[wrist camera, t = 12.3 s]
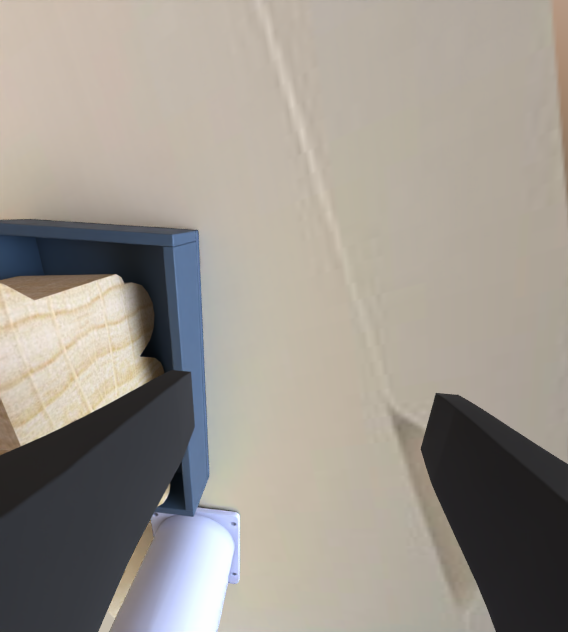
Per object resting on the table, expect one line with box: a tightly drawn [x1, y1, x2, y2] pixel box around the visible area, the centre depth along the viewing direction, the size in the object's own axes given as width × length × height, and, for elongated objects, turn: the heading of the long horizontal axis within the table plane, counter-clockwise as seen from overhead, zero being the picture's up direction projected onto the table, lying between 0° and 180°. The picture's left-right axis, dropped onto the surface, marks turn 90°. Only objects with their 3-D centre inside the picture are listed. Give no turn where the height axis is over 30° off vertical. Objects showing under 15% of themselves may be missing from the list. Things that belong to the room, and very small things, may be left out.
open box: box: [0, 219, 209, 517], centre depth 19 cm, size 20×11×4 cm, turn 177°
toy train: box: [0, 274, 170, 507], centre depth 16 cm, size 6×17×10 cm, turn 2°
